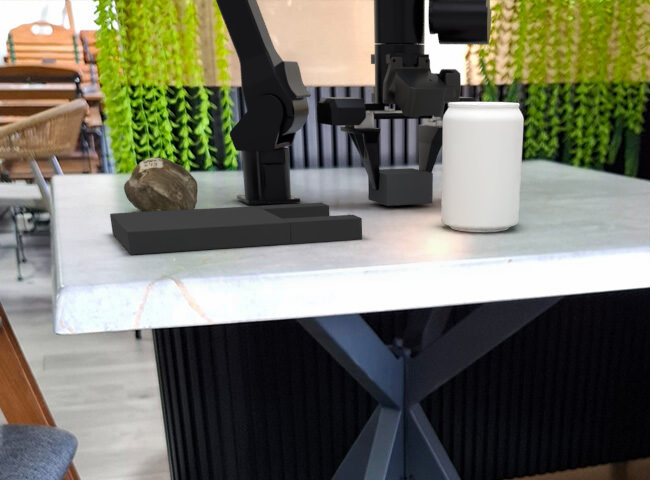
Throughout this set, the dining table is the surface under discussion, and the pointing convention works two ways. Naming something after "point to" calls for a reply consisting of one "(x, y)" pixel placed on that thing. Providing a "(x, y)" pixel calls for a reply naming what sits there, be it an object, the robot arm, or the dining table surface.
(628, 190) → the dining table surface
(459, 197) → the beverage can
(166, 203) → the fossilized seashell
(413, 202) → the pad
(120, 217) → the u-shaped holder
